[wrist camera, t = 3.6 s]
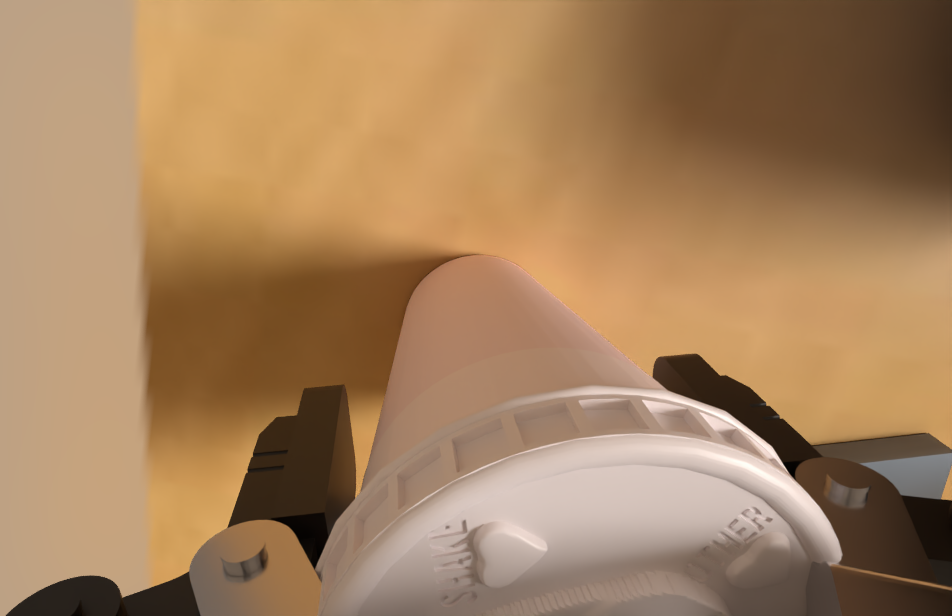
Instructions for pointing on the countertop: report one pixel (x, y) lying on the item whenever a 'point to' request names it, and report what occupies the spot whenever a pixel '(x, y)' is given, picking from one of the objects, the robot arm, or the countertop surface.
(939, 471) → the pedestal base
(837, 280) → the countertop surface
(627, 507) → the smoothie
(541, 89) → the countertop surface
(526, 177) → the countertop surface
